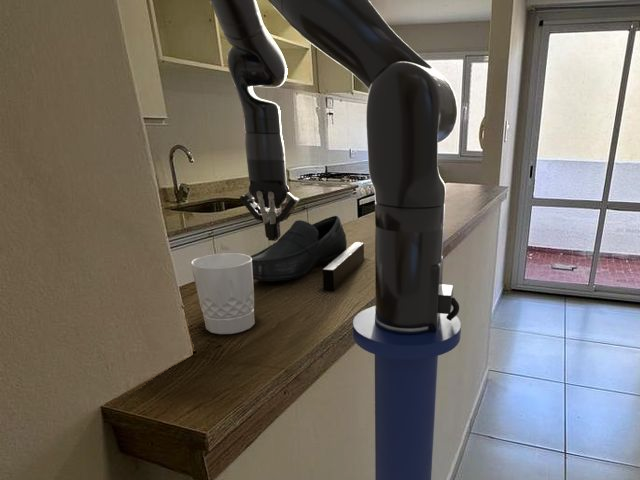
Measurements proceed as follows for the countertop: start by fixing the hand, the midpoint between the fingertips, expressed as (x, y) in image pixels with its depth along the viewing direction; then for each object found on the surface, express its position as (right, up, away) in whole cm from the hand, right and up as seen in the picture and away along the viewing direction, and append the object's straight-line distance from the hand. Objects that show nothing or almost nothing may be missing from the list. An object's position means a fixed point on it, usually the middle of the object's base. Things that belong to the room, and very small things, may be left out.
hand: (273, 239), depth 99 cm
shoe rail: (+17, -8, -7) cm, 20 cm away
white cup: (+4, -18, -32) cm, 37 cm away
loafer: (+7, -7, -6) cm, 12 cm away
